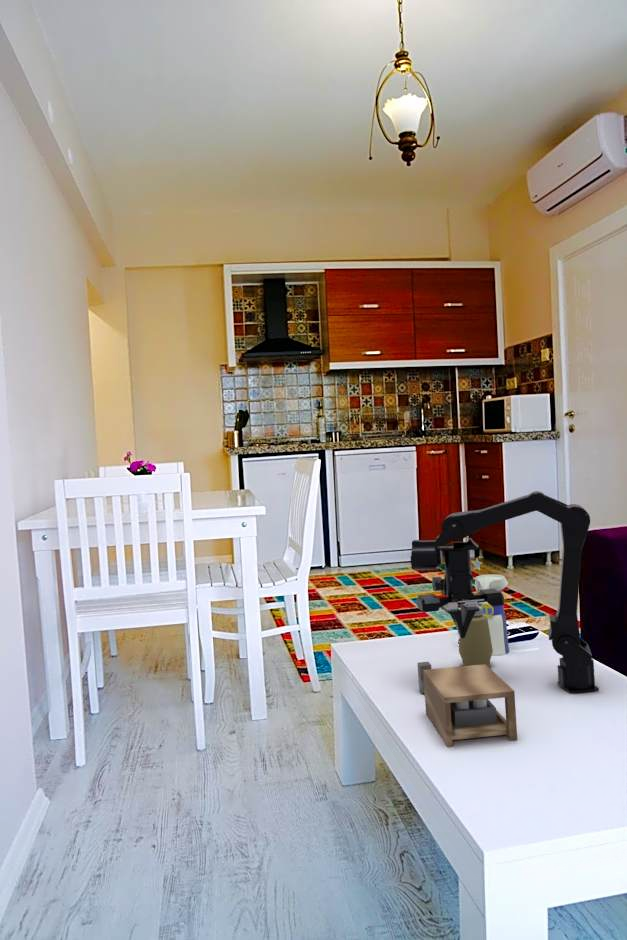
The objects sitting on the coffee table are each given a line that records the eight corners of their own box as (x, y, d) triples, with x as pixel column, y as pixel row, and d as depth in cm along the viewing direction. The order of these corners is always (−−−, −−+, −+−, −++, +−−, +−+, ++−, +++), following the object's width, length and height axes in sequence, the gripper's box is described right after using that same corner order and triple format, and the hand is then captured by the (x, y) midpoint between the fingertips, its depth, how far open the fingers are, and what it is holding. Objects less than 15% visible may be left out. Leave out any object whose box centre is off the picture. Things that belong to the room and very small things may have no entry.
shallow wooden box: (466, 684, 154) (464, 658, 154) (510, 734, 127) (508, 702, 127) (418, 689, 153) (416, 662, 153) (452, 739, 126) (450, 707, 126)
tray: (487, 712, 136) (485, 690, 135) (497, 723, 130) (495, 700, 130) (447, 716, 135) (446, 693, 135) (455, 727, 129) (454, 704, 129)
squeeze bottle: (487, 673, 162) (483, 597, 161) (454, 669, 166) (450, 595, 165) (498, 662, 169) (493, 590, 168) (466, 659, 173) (461, 588, 172)
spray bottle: (505, 657, 172) (500, 558, 171) (473, 654, 177) (467, 557, 176) (515, 648, 179) (510, 553, 178) (483, 645, 184) (478, 552, 183)
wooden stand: (488, 707, 141) (485, 664, 141) (517, 739, 125) (514, 691, 125) (425, 713, 140) (423, 670, 140) (447, 747, 124) (444, 697, 124)
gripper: (486, 560, 164) (490, 625, 164) (409, 566, 162) (413, 632, 162) (503, 568, 152) (507, 637, 153) (420, 575, 151) (425, 645, 151)
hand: (462, 637), depth 155 cm, fingers closed
